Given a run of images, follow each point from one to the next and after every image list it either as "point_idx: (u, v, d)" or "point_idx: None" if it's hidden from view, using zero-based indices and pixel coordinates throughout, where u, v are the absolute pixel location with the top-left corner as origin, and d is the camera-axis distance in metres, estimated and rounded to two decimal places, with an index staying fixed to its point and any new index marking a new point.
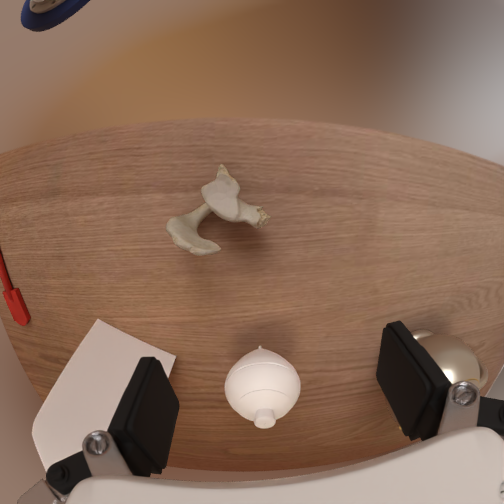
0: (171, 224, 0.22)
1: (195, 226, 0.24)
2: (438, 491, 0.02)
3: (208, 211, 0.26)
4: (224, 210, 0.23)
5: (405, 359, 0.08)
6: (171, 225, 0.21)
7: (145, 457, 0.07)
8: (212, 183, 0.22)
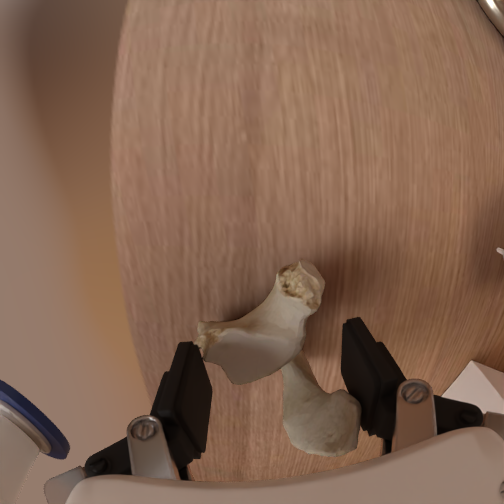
0: (293, 439, 0.11)
1: (305, 382, 0.13)
2: (438, 491, 0.02)
3: None
4: (279, 357, 0.11)
5: (359, 354, 0.09)
6: (294, 441, 0.10)
7: (188, 441, 0.08)
8: (226, 368, 0.11)
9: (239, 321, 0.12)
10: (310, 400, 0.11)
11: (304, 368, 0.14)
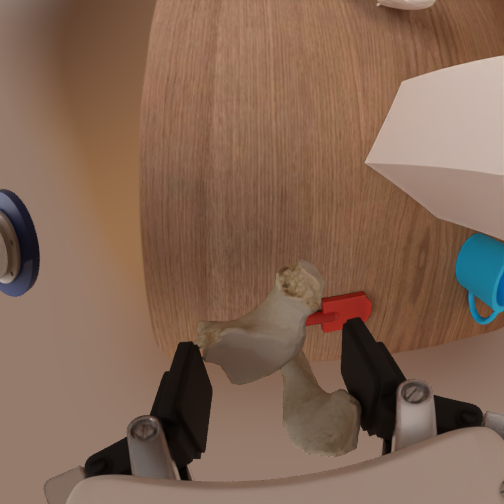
0: (292, 438, 0.11)
1: (305, 381, 0.13)
2: (438, 491, 0.02)
3: None
4: (279, 357, 0.11)
5: (359, 354, 0.09)
6: (294, 440, 0.10)
7: (189, 441, 0.08)
8: (226, 368, 0.11)
9: (239, 321, 0.12)
10: (310, 400, 0.11)
11: (304, 368, 0.14)
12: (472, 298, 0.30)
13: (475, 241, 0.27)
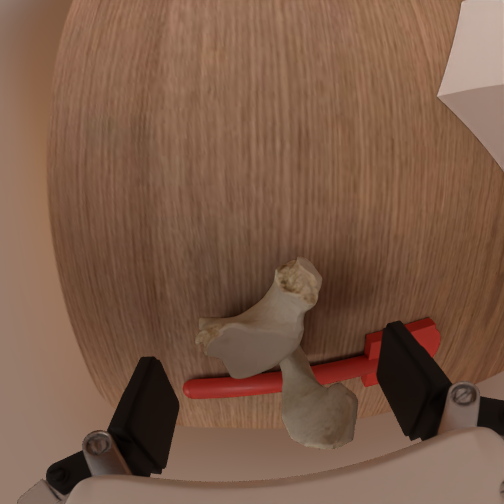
0: (291, 432, 0.11)
1: (303, 376, 0.13)
2: (438, 491, 0.02)
3: None
4: (278, 351, 0.11)
5: (405, 359, 0.08)
6: (293, 434, 0.11)
7: (145, 458, 0.07)
8: (226, 363, 0.12)
9: (239, 317, 0.13)
10: (308, 394, 0.12)
11: (302, 363, 0.14)
12: None
13: None
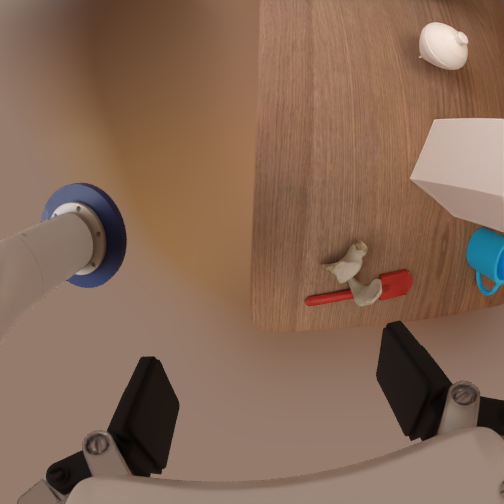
0: (359, 303, 0.35)
1: (359, 285, 0.37)
2: (438, 491, 0.02)
3: None
4: (354, 270, 0.35)
5: (405, 359, 0.08)
6: (360, 303, 0.35)
7: (145, 457, 0.07)
8: (337, 276, 0.36)
9: (339, 261, 0.37)
10: (363, 289, 0.36)
11: (358, 281, 0.38)
12: (479, 276, 0.39)
13: (480, 233, 0.36)
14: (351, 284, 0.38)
